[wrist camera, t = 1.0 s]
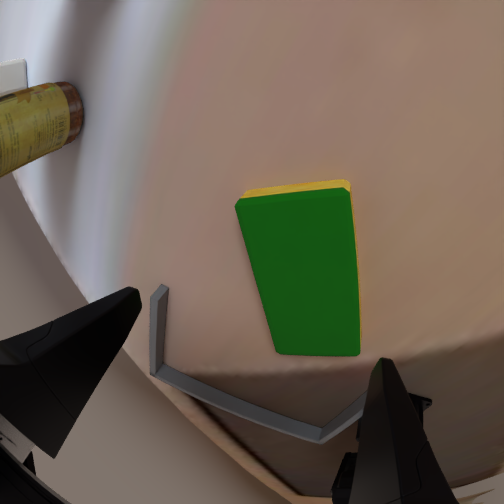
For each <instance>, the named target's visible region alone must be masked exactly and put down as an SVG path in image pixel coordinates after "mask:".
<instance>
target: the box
mask: <svg viewBox="0 0 504 504" xmlns="http://www.w3.org/2000/svg"><path fill="white" fill-rule="evenodd" d="M168 290H169V288H168V287H166V286H164V285H162V284H161V285H160V286H159V288H158V289H157V290H156V291H155V292H154V293H153V295H152V296H151V297H150V339H149V349H150V375H151V376H153V377H155V378H157V379H159V380H161V381H163V382H165V383H167V384H169V385H171V386H173V387H175V388H177V389H179V390H181V391H183V392H185V393H187V394H189V395H191V396H193V397H195V398H197V399H199V400H202V401H204V402H206V403H208V404H210V405H213V406H215V407H217V408H220V409H222V410H224V411H227V412H229V413H231V414H234V415H236V416H239V417H241V418H244V419H246V420H249V421H252V422H254V423H257V424H260V425H262V426H265V427H268V428H271V429H273V430H276V431H279V432H282V433H285V434H288V435H291V436H294V437H297V438H301V439H304V440H307V441H310V442H314V443H317V444H321V445H322V444H324V443H325V442H327V441H328V440H330V439H331V438H332V437H334V436H335V435H337V434H338V433H340V432H341V431H343V430H344V429H345V428H347V427H348V426H350V425H351V424H352V423H354V422H355V421H356V420H358V419H359V418H360V417H361V416H362V415H363V410H364V405H365V400H366V396H367V391H368V390H367V391H366V392H365V393H364V394H363V395H362V396H360V397H359V398H358V399H357V400H356V401H355V402H353V403H352V404H351V405H350V406H349V407H348V408H346V409H345V410H344V411H343V412H342V413H340V414H339V415H338V416H337V417H336V418H334V419H333V420H332V421H331V422H329V423H328V424H327V425H325V426H324V427H323V428H319V427H316V426H313V425H309V424H306V423H303V422H300V421H297V420H294V419H291V418H288V417H286V416H283V415H280V414H277V413H274V412H272V411H269V410H266V409H264V408H261V407H258V406H256V405H253V404H251V403H248V402H246V401H243V400H241V399H238V398H236V397H234V396H231V395H229V394H226V393H224V392H222V391H220V390H217V389H215V388H213V387H211V386H208V385H206V384H204V383H202V382H200V381H198V380H195V379H193V378H191V377H189V376H187V375H185V374H183V373H181V372H179V371H177V370H175V369H173V368H171V367H169V366H167V365H165V364H163V350H164V336H165V323H166V311H167V300H168Z"/></svg>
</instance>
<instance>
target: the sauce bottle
mask: <svg viewBox="0 0 504 504" xmlns="http://www.w3.org/2000/svg"><path fill="white" fill-rule="evenodd" d="M82 122H83V106H82V102H81V99H80V97H79V94H78V92H77V90H76V88H75V87H74V86H73V85H71V84H69V83H67V82H56V83H45V84H41V85H37V86H34V87H30V88H26V89H23V90H19V91H16V92H13V93H10V94H6V95H3V96H0V178H1V177H3V176H5V175H7V174H9V173H10V172H12V171H14V170H16V169H18V168H20V167H22V166H24V165H26V164H28V163H30V162H32V161H34V160H36V159H38V158H40V157H42V156H44V155H47V154H49V153H51V152H53V151H55V150H58V149H60V148H62V146H63V145H65V144H68V143H70V142H72V141H73V140H75V138H76V137H77V135H78V134H79V131H80V128H81V125H82Z"/></svg>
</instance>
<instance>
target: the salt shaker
mask: <svg viewBox="0 0 504 504" xmlns="http://www.w3.org/2000/svg"><path fill="white" fill-rule="evenodd" d="M26 88H27V77H26V61H25V59H22V58H19V59H14V60H9V61H4V62H0V96H3V95H6V94H10V93H13V92H16V91H19V90H23V89H26Z"/></svg>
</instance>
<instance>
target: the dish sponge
mask: <svg viewBox="0 0 504 504" xmlns="http://www.w3.org/2000/svg"><path fill="white" fill-rule="evenodd" d="M235 210H236V213H237V217H238V220H239V224H240V227H241V231H242V234H243V238H244V241H245V245H246V248H247V252H248V255H249V259H250V262H251V266H252V270H253V273H254V277H255V280H256V284H257V287H258V291H259V294H260V298H261V301H262V305H263V308H264V312H265V315H266V319H267V322H268V325H269V329H270V332H271V336H272V339H273V343H274V346H275V350H276V352H278V353H279V354H283V355H305V356H357V355H359V354H360V348H361V338H362V332H361V297H360V278H359V262H358V249H357V238H356V227H355V218H354V209H353V200H352V192H351V185H350V183H349V182H347V181H346V180H345V179H340V180H330V181H320V182H310V183H301V184H293V185H284V186H276V187H268V188H261V189H253V190H247V192H246V193H245V194H244V195H243V196H242V197H241V198H240V199H239V200H238V201H237V203H236V205H235Z"/></svg>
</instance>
